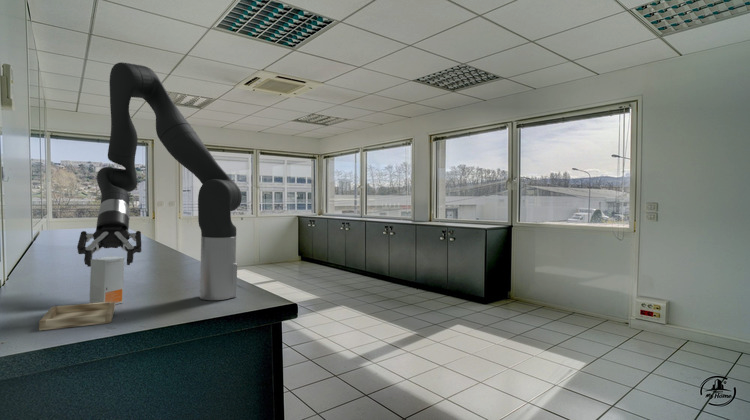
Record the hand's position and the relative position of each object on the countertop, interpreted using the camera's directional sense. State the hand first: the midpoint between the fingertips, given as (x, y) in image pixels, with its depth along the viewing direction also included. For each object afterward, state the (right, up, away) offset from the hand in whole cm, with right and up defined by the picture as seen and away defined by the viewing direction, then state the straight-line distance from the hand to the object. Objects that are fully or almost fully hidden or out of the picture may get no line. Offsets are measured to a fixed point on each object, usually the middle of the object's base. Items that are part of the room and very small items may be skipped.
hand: (109, 264), depth 101 cm
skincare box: (+2, -10, -3) cm, 11 cm away
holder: (+4, -10, -15) cm, 18 cm away
